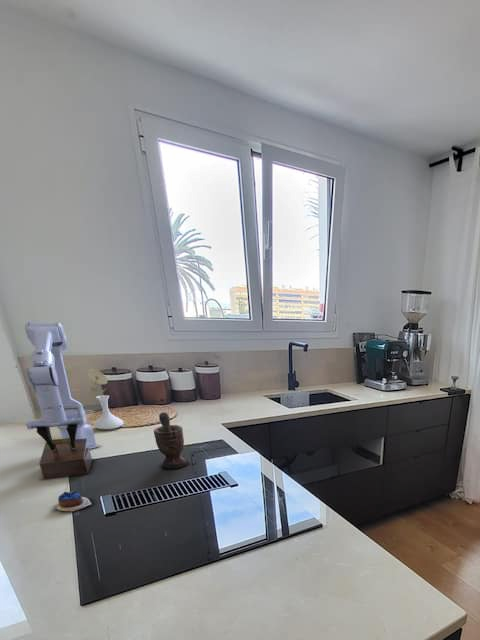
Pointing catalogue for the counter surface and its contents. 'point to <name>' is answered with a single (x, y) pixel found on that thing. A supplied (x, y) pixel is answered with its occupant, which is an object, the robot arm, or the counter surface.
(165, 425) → the mortar and pestle
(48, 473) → the storage box
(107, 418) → the flower in vase
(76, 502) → the dessert
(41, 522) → the counter surface
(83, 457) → the box lid
